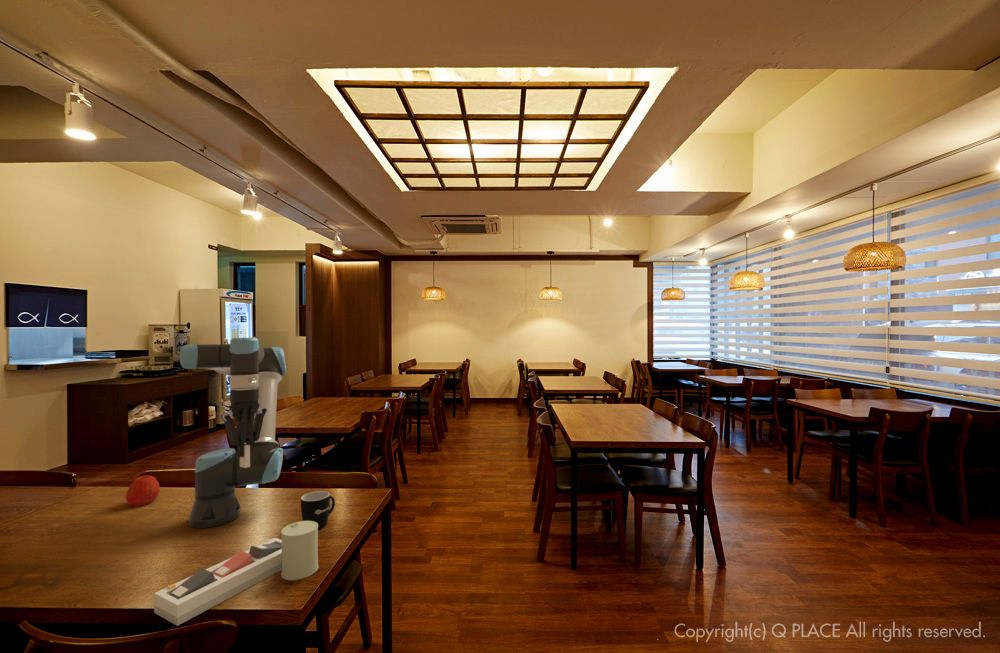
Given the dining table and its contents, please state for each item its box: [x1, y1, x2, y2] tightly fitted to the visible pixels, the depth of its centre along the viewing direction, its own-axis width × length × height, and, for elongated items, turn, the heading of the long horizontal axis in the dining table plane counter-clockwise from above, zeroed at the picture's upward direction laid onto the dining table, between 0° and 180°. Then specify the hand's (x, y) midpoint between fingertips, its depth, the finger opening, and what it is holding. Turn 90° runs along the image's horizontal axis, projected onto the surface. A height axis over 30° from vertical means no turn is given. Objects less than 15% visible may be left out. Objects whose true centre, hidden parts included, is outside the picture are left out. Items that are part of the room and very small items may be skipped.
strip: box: [153, 537, 282, 627], centre depth 113 cm, size 38×10×5 cm, turn 152°
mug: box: [300, 490, 336, 530], centre depth 144 cm, size 12×9×10 cm
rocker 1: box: [169, 568, 215, 599], centre depth 102 cm, size 8×5×2 cm, turn 153°
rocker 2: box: [249, 543, 282, 557], centre depth 118 cm, size 8×5×2 cm, turn 152°
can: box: [280, 520, 319, 581], centre depth 116 cm, size 9×9×12 cm
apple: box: [125, 474, 161, 507], centre depth 165 cm, size 10×10×10 cm
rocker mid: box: [213, 550, 253, 578], centre depth 110 cm, size 8×5×2 cm, turn 153°
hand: (244, 466), depth 129 cm, fingers closed
